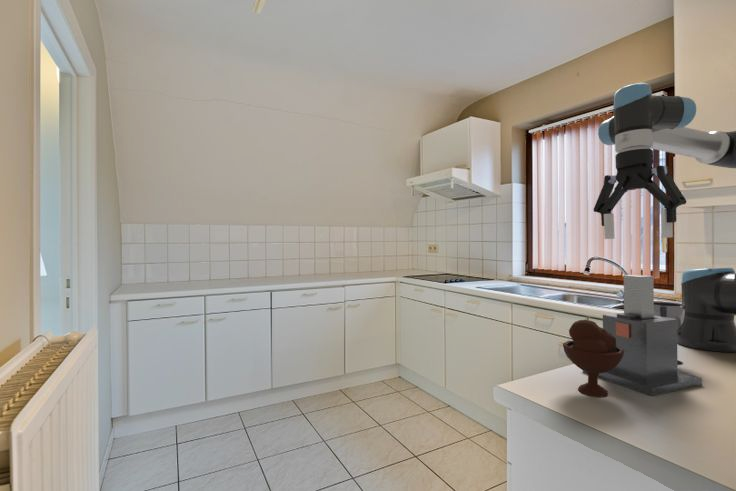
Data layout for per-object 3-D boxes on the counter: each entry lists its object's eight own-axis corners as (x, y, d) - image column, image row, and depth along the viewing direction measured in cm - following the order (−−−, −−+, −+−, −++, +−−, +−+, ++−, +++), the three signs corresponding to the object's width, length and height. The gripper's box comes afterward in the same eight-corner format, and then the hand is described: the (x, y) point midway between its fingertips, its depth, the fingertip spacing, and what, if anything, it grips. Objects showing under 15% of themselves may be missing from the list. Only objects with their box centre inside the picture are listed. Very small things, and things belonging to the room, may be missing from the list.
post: (636, 363, 90) (635, 274, 90) (655, 369, 86) (654, 276, 85) (623, 366, 88) (622, 275, 88) (642, 371, 84) (641, 276, 84)
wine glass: (692, 366, 94) (692, 306, 94) (656, 364, 96) (656, 305, 96) (673, 356, 102) (673, 301, 102) (640, 355, 104) (640, 301, 104)
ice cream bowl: (604, 407, 72) (604, 328, 72) (552, 387, 82) (551, 318, 82) (636, 396, 77) (635, 322, 77) (582, 378, 86) (582, 313, 86)
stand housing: (628, 363, 97) (628, 305, 97) (701, 385, 82) (701, 317, 82) (582, 371, 92) (582, 310, 92) (652, 396, 77) (651, 323, 77)
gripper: (577, 161, 102) (579, 239, 102) (683, 136, 79) (686, 237, 79) (596, 162, 105) (599, 238, 105) (704, 138, 82) (707, 236, 82)
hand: (636, 238), depth 92 cm, fingers open, 13 cm apart
